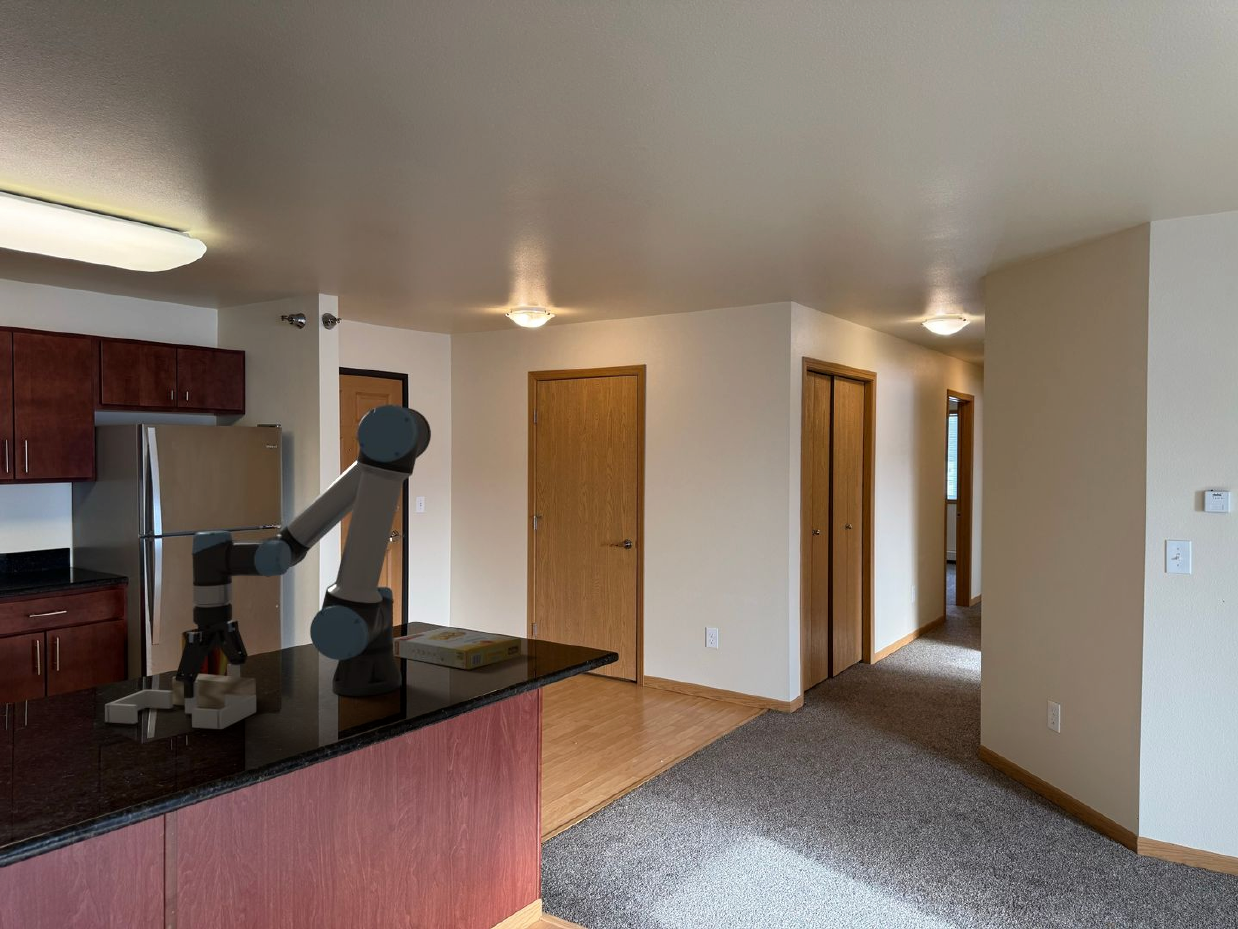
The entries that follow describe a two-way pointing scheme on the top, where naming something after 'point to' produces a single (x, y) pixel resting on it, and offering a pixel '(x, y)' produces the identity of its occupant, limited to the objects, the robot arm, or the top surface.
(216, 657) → the mug
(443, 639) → the cereal box
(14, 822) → the top surface
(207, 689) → the wooden block
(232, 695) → the tray
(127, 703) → the endcap far
